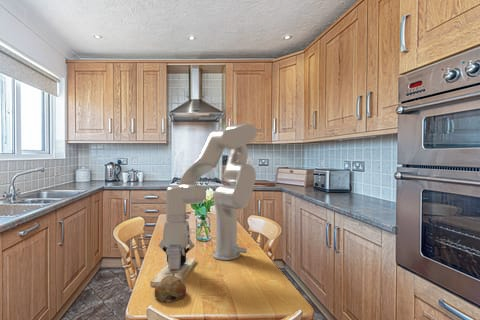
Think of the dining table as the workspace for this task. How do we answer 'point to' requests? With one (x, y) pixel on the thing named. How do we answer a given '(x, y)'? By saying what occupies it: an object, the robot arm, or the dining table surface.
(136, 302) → the dining table surface
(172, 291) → the bread roll
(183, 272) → the board
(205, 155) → the robot arm
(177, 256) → the medicine box
